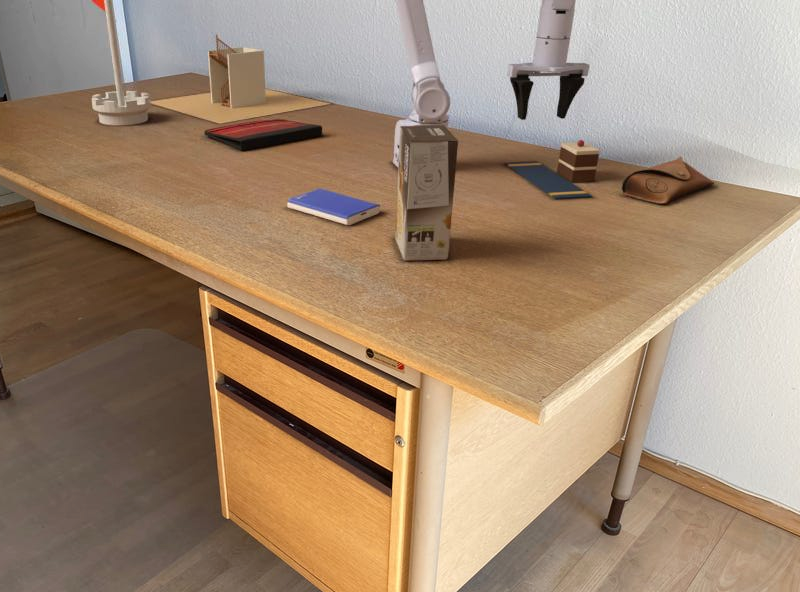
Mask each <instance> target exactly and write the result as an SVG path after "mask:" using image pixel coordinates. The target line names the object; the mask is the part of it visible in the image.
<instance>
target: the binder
mask: <svg viewBox="0 0 800 592" xmlns="http://www.w3.org/2000/svg"><path fill="white" fill-rule="evenodd" d="M203 133H204V136H207V137H208V138H212V139H214V140H217V141H219V142H222V143H223V144H227V145H228V146H230V147H232V148H234V149H236V150H238V151H242V152H243V151H248V150H253V149H258V148H263V147H264V148H265V147H268V146H274V145H280V144H285V143H289V142H296V141H300V140H306V139H311V138H315V137H321V136H322V135H323V126H322V125H320V124H313V123H306V122H299V121H293V120H288V119H283V118H282V119H280V118H278V119H264V120H254V121H248V122H241V123H235V124H228V125H224V126H218V127H213V128H209V129H205V130H204V131H203Z"/></svg>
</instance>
